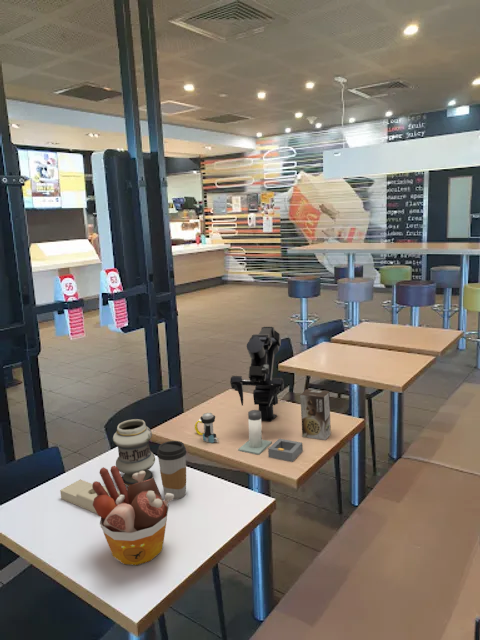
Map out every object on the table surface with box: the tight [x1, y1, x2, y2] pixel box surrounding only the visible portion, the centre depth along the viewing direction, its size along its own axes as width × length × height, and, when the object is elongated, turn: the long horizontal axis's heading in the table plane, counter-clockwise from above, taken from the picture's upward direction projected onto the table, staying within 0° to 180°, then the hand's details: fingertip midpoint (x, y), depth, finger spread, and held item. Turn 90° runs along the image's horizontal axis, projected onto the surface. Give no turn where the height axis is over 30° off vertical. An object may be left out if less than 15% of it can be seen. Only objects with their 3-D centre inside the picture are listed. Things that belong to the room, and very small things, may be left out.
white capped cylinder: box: [247, 409, 263, 448], centre depth 173 cm, size 4×4×12 cm
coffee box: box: [299, 388, 332, 441], centre depth 180 cm, size 9×6×16 cm
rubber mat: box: [237, 439, 273, 456], centre depth 175 cm, size 10×8×1 cm
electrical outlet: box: [59, 479, 120, 515], centre depth 145 cm, size 7×4×18 cm
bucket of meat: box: [92, 465, 174, 566], centre depth 120 cm, size 20×16×20 cm
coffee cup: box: [156, 440, 187, 501], centre depth 145 cm, size 8×8×15 cm
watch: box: [194, 418, 204, 436], centre depth 187 cm, size 6×3×6 cm, turn 67°
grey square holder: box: [267, 438, 304, 463], centre depth 168 cm, size 9×9×3 cm
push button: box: [199, 412, 219, 444], centre depth 180 cm, size 7×5×10 cm
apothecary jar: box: [112, 418, 156, 487], centre depth 156 cm, size 12×12×18 cm
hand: (255, 405), depth 176 cm, fingers open, 9 cm apart
